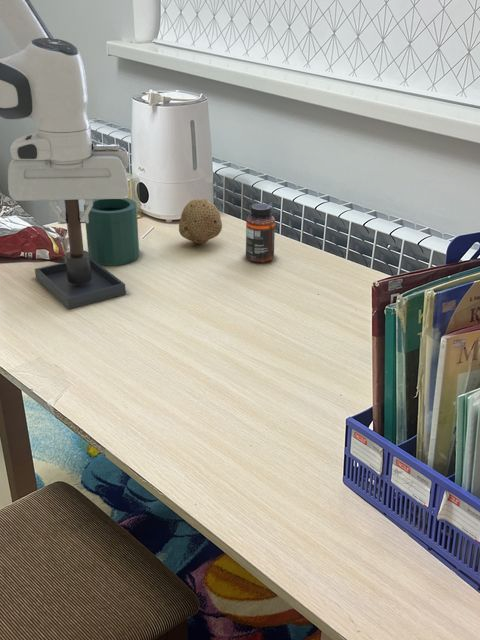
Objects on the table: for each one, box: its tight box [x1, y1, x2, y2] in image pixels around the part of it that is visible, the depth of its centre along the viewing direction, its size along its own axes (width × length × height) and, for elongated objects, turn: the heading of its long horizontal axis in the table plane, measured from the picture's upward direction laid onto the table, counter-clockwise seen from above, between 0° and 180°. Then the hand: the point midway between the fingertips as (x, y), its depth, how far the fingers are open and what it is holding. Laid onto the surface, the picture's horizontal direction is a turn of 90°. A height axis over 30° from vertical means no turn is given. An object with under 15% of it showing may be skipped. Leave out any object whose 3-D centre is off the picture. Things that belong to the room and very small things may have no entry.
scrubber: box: [63, 200, 92, 284], centre depth 125 cm, size 4×4×16 cm
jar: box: [83, 197, 140, 267], centre depth 141 cm, size 10×10×11 cm
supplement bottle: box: [245, 202, 276, 264], centre depth 142 cm, size 6×6×11 cm
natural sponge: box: [178, 198, 223, 245], centre depth 148 cm, size 9×9×10 cm
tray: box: [34, 258, 127, 310], centre depth 130 cm, size 15×11×2 cm
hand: (73, 222), depth 124 cm, fingers closed on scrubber, 2 cm apart
